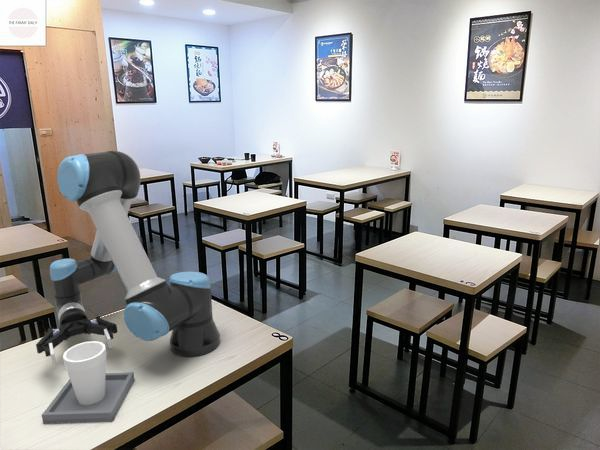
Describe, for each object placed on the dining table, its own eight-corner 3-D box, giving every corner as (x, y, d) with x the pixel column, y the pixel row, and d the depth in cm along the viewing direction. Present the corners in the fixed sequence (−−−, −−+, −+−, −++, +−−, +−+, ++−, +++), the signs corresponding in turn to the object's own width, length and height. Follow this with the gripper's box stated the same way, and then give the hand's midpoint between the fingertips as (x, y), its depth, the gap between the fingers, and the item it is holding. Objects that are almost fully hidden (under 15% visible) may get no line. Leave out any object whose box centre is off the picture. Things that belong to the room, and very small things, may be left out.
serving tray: (134, 380, 118) (133, 372, 117) (112, 421, 102) (111, 412, 102) (74, 382, 117) (73, 374, 117) (43, 424, 102) (41, 415, 101)
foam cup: (118, 395, 110) (112, 350, 107) (81, 414, 103) (72, 366, 100) (101, 380, 116) (95, 337, 113) (65, 397, 109) (56, 352, 106)
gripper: (118, 319, 140) (133, 349, 122) (27, 342, 127) (29, 378, 109) (115, 298, 138) (130, 325, 120) (22, 318, 125) (24, 352, 107)
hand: (82, 350), depth 115 cm, fingers open, 13 cm apart
